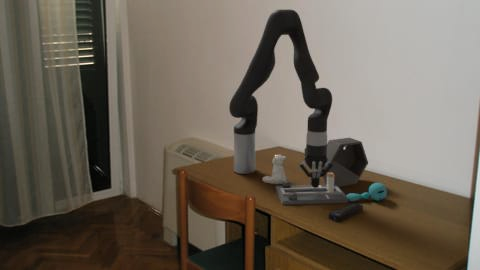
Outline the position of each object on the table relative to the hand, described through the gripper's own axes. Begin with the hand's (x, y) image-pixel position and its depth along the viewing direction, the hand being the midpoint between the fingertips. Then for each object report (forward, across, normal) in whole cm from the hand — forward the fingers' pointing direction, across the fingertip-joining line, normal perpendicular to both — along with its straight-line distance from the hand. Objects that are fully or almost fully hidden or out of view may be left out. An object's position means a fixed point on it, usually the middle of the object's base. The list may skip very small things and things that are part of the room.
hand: (314, 187), depth 188 cm
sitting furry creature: (+4, +12, -17) cm, 21 cm away
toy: (+4, -18, +6) cm, 20 cm away
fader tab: (+1, -6, 0) cm, 6 cm away
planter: (+4, -14, -14) cm, 20 cm away
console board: (+3, +2, 0) cm, 4 cm away
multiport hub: (+4, -6, +19) cm, 21 cm away
